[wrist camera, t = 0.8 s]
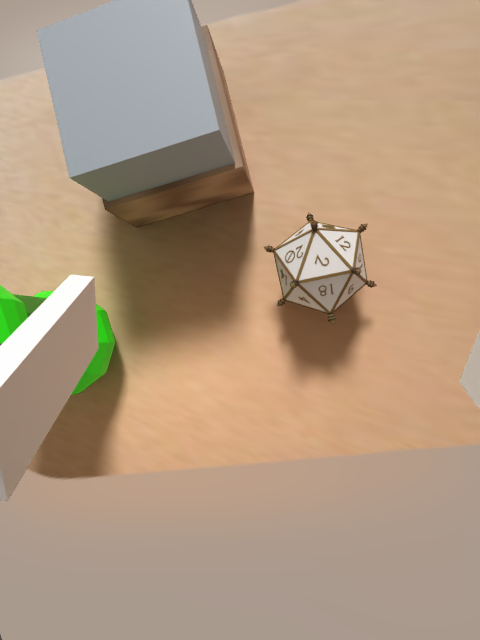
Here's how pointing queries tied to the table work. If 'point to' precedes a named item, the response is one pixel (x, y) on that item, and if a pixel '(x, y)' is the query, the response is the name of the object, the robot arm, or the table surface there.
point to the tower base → (194, 188)
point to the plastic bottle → (12, 310)
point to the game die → (321, 266)
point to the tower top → (134, 96)
